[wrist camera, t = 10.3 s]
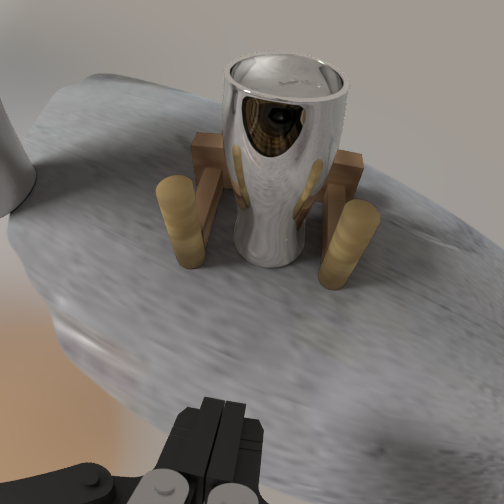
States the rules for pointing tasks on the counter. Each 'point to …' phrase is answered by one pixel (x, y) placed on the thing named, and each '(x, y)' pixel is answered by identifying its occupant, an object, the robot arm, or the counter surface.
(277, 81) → the silver metal cup
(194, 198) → the holder
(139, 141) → the counter surface
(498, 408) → the counter surface
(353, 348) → the counter surface
